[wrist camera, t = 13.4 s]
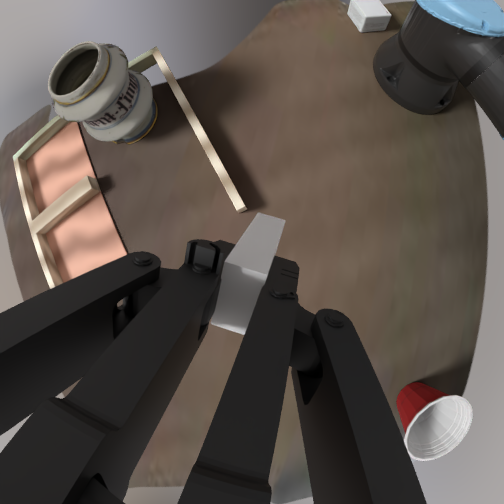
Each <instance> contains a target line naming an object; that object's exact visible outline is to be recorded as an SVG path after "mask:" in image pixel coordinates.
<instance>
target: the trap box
mask: <svg viewBox="0 0 504 504" xmlns="http://www.w3.org/2000/svg"><path fill="white" fill-rule="evenodd" d="M156 63H158V65H159V67H160V69H161V70H162V72H163V74H164V76H165V78H166V80H167V82H168V83H169V85H170V87H171V89H172V91H173V93H174V94H175V96H176V98H177V100H178V102H179V104H180V106H181V107H182V109H183V111H184V113H185V115H186V117H187V118H188V120H189V122H190V124H191V126H192V128H193V130H194V131H195V133H196V135H197V137H198V139H199V141H200V143H201V144H202V146H203V148H204V150H205V152H206V154H207V156H208V157H209V159H210V161H211V163H212V165H213V167H214V169H215V170H216V172H217V174H218V176H219V178H220V180H221V182H222V183H223V185H224V187H225V189H226V191H227V193H228V195H229V197H230V198H231V200H232V202H233V204H234V206H235V208H236V210H237V211H238V212H239V213H241V212H243V211H245V210H247V208H246V206H245V204H244V203H243V201H242V199H241V197H240V195H239V193H238V191H237V190H236V188H235V186H234V184H233V182H232V180H231V179H230V177H229V175H228V173H227V171H226V169H225V168H224V166H223V164H222V162H221V160H220V158H219V157H218V155H217V153H216V151H215V149H214V148H213V146H212V144H211V142H210V140H209V138H208V137H207V135H206V133H205V131H204V129H203V128H202V126H201V124H200V122H199V120H198V119H197V117H196V115H195V113H194V111H193V110H192V108H191V106H190V104H189V102H188V101H187V99H186V97H185V95H184V94H183V92H182V90H181V88H180V86H179V85H178V83H177V81H176V79H175V78H174V76H173V74H172V72H171V71H170V69H169V67H168V65H167V64H166V62H165V60H164V58H163V56H162V55H161V53H160V52H159V50H158V48H157V47H154V48H153V49H151V50H149V51H148V52H146V53H144V54H142V55H141V56H139V57H137V58H136V59H134V60H132V61H131V62H129V63H128V70H134V71H137V72H139V73H141V72H143V71H145V70H146V69H148V68H149V67H151V66H153V65H155V64H156ZM13 159H14V165H15V170H16V175H17V180H18V185H19V189H20V194H21V198H22V202H23V206H24V210H25V214H26V217H27V221H28V224H29V228H30V231H31V235H32V238H33V241H34V244H35V247H36V250H37V253H38V256H39V259H40V262H41V265H42V268H43V271H44V273H45V276H46V279H47V281H48V284H49V286H50V289H51V288H54V287H56V286H58V285H60V284H62V283H64V282H67V281H69V280H71V279H73V278H75V277H77V276H80V275H82V274H84V273H86V272H89V271H91V270H93V269H95V268H98V267H100V266H102V265H104V264H107V263H109V262H111V261H113V260H116V259H118V258H120V257H123V256H125V255H127V252H126V250H125V247H124V245H123V243H122V241H121V238H120V236H119V234H118V232H117V229H116V227H115V224H114V222H113V220H112V217H111V215H110V212H109V210H108V207H107V205H106V202H105V200H104V197H103V195H102V192H101V190H100V187H99V184H98V182H97V179H96V176H95V173H94V171H93V168H92V165H91V162H90V159H89V156H88V153H87V150H86V147H85V144H84V141H83V138H82V135H81V132H80V129H79V126H78V122H70V121H66V120H64V119H62V118H61V117H59V116H58V115H57V116H56V117H55V118H53V119H52V120H51V121H50V122H49V123H48V124H46V125H45V126H44V127H43V128H42V129H41V130H40V131H39V132H38V133H37V134H36V135H34V136H33V137H32V138H31V139H30V140H29V141H28V142H27V143H26V144H25V145H24V146H23V147H22V148H21V149H20V150H19V151H18V152H17V153H16V154H15V155H14V156H13Z"/></svg>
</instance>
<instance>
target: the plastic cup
mask: <svg viewBox="0 0 504 504" xmlns="http://www.w3.org/2000/svg"><path fill="white" fill-rule="evenodd" d="M396 402H397V408H398V411H399V414H400V418H401V421H402V424H403V427H404V431H405V438H404V443H405V446H406V448H407V451H408V453H409V455H410V456H411V457H412V458H413V459H417V460H421V461H426V460H432V459H436V458H439V457H441V456H443V455H445V454H447V453H448V452H450V451H451V450H452V449H453V448H455V447H456V446H457V445H458V444H459V443H460V442H461V441H462V439H463V438H464V436H465V435H466V433H467V432H468V430H469V427H470V425H471V422H472V407H471V405H470V403H469V402H468V400H467V399H465V398H462V397H460V396H457V395H448V394H445V393H443V392H441V391H439V390H437V389H435V388H432V387H430V386H427V385H425V384H423V383H419V382H415V383H411V384H409V385H406V386H405V387H404V388H403V389H402V390H401V392H400V393H399V395H398V397H397V401H396Z"/></svg>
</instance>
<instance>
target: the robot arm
mask: <svg viewBox="0 0 504 504" xmlns="http://www.w3.org/2000/svg"><path fill="white" fill-rule="evenodd" d="M498 58H499V59H498ZM497 59H498V60H497ZM489 66H490V67H489ZM488 67H489V68H488ZM373 68H374V73H375V76H376V78H377V80H378V82H379V84H380V86H381V87H382V88H383V90H384V91H385V92H386V93H387V94H388V95H389V96H390V97H391V98H392V99H393V100H394V101H395V102H397V103H398V104H399V105H401V106H403V107H404V108H406V109H408V110H410V111H413V112H416V113H420V114H435V113H438V112H440V111H441V110H443V109H444V108H445V107H446V106H447V105H448V104H449V103H450V102H451V100H452V98H453V96H454V93H455V90H456V87H457V84H458V81H460V82H461V83H462V84H463V86H464V87H465V88H466V89H467V90H468V92H469V93H470V94H471V95H472V97H473V98H474V99H475V100H476V102H477V103H478V104H479V105H480V107H481V108H482V109H483V110H484V112H485V113H486V115H487V116H488V117H489V119H490V120H491V122H492V123H493V125H494V126H495V127H496V129H497V130H498V132H499V134H500V136H501V137H502V139H503V140H504V13H503V10H502V9H501V8H500V7H499V5H497V3H496V2H495V1H494V0H415V2H414V4H413V6H412V8H411V10H410V12H409V14H408V16H407V18H406V20H405V22H404V24H403V25H402V28H401V29H400V31H399V32H398V33H397V34H395V35H394V36H392V37H391V38H389V39H388V40H386V41H385V42H384V43H382V44H381V46H380V47H379V48H378V50H377V52H376V54H375V57H374V60H373ZM487 68H488V69H487ZM486 69H487V70H486ZM479 75H480V76H479ZM478 76H479V77H478ZM477 77H478V78H477ZM476 78H477V79H476ZM284 224H285V220H282V219H279V218H276V217H272V216H269V215H266V214H262V213H259V212H258V214H257V215H256V216H255V218H254V219H253V221H252V222H251V224H250V225H249V227H248V228H247V229H246V231H245V232H244V234H243V235H242V237H241V238H240V240H239V241H238V242H237V244H236V245H235V244H232V243H228V242H225V241H222V240H219V241H216V242H212V241H208V240H199V239H197V240H191V241H189V242H188V243H187V249H186V255H185V261H184V264H183V265H182V266H181V267H180V268H179V269H178V270H176V269H167V268H160V266H161V261H160V259H159V258H158V257H157V256H156V255H154V254H151V253H149V252H144V251H141V252H133V253H130V254H127V255H125V256H123V257H120V258H118V259H116V260H113V261H111V262H109V263H107V264H104V265H102V266H100V267H98V268H95V269H93V270H91V271H89V272H86V273H84V274H82V275H80V276H77V277H75V278H73V279H71V280H69V281H67V282H64V283H62V284H60V285H58V286H56V287H54V288H51V289H49V290H47V291H45V292H43V293H41V294H39V295H37V296H35V297H33V298H30V299H28V300H26V301H24V302H22V303H20V304H18V305H16V306H14V307H12V308H10V309H8V310H6V311H4V312H2V313H0V435H2V434H3V433H5V432H6V431H8V430H9V429H11V428H12V427H14V426H15V425H16V424H18V423H19V422H21V421H22V420H23V419H25V418H26V417H28V416H29V415H30V414H32V413H33V414H32V415H31V416H30V417H29V418H28V420H27V421H26V422H25V423H24V424H23V426H22V427H21V428H20V429H19V431H18V432H17V433H16V434H15V435H14V437H13V438H12V439H11V440H10V442H9V443H8V444H7V445H6V447H5V448H4V449H3V450H2V452H1V453H0V504H125V503H124V502H123V499H124V497H125V495H126V492H127V489H128V485H129V480H130V477H131V475H132V473H133V471H134V469H135V467H136V465H137V463H138V461H139V459H140V458H141V456H142V454H143V452H144V450H145V448H146V446H147V444H148V442H149V440H150V439H151V437H152V435H153V433H154V431H155V429H156V427H157V425H158V423H159V422H160V420H161V418H162V416H163V414H164V412H165V410H166V408H167V406H168V404H169V403H170V401H171V399H172V397H173V395H174V393H175V391H176V389H177V387H178V386H179V384H180V382H181V380H182V378H183V376H184V374H185V372H186V370H187V369H188V367H189V365H190V363H191V361H192V359H193V357H194V355H195V353H196V352H197V350H198V348H199V346H200V344H201V342H202V340H203V338H204V336H205V335H206V333H207V330H208V325H209V321H210V319H211V317H212V321H211V324H213V325H216V326H219V327H222V328H225V329H228V330H231V331H234V332H237V333H240V334H243V335H244V338H243V340H242V343H241V346H240V349H239V351H238V354H237V357H236V359H235V362H234V365H233V367H232V370H231V373H230V375H229V378H228V381H227V383H226V386H225V389H224V391H223V394H222V397H221V399H220V402H219V404H218V407H217V410H216V412H215V415H214V418H213V420H212V423H211V425H210V428H209V430H208V433H207V436H206V438H205V441H204V443H203V446H202V448H201V451H200V453H199V456H198V458H197V461H196V463H195V464H194V466H193V468H192V470H191V472H190V475H189V477H188V479H187V482H186V484H185V487H184V489H183V492H182V494H181V496H180V499H179V501H178V504H270V501H271V494H272V492H271V486H270V485H269V484H268V479H269V473H270V468H271V463H272V458H273V453H274V448H275V443H276V438H277V432H278V427H279V422H280V416H281V411H282V405H283V399H284V393H285V387H286V381H287V375H288V369H289V366H291V367H292V371H291V374H292V379H293V385H294V390H295V396H296V401H297V407H298V413H299V418H300V424H301V430H302V436H303V441H304V447H305V453H306V459H307V465H308V471H309V477H310V483H311V489H312V495H313V501H314V504H426V500H425V497H424V495H423V492H422V489H421V486H420V483H419V480H418V478H417V475H416V472H415V469H414V467H413V464H412V461H411V459H410V456H409V453H408V451H407V448H406V446H405V443H404V441H403V438H402V435H401V433H400V430H399V428H398V425H397V423H396V421H395V418H394V416H393V413H392V411H391V408H390V406H389V404H388V401H387V399H386V397H385V394H384V392H383V390H382V387H381V385H380V383H379V380H378V378H377V376H376V374H375V371H374V369H373V367H372V365H371V362H370V360H369V358H368V356H367V354H366V351H365V349H364V347H363V345H362V343H361V341H360V338H359V336H358V334H357V332H356V330H355V328H354V326H353V324H352V322H351V321H350V319H349V318H348V317H347V316H345V315H344V314H343V313H341V312H339V311H337V310H332V309H321V310H319V311H318V312H317V313H316V315H315V314H313V313H311V312H309V311H307V310H305V309H304V308H303V307H301V306H300V304H299V303H298V295H297V294H296V291H297V284H298V276H299V267H298V265H297V263H296V262H294V261H291V260H287V259H284V258H281V257H277V256H275V254H276V251H277V248H278V244H279V241H280V237H281V234H282V231H283V227H284ZM122 299H123V305H121V306H120V307H117V303H118V302H119V301H120V300H122ZM212 315H213V316H212ZM82 377H83V378H82ZM81 378H82V379H81ZM79 379H81V380H80V381H79V382H78V384H77V385H76V386H75V387H74V388H73V390H72V391H71V392H70V393H69V394H68V395H67V396H66V397H65V398H63V399H60V398H56V396H57V395H58V394H60V393H61V392H62V391H64V390H65V389H67V388H68V387H69V386H71V385H72V384H74V383H75V382H76V381H78V380H79Z"/></svg>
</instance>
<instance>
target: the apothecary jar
mask: <svg viewBox="0 0 504 504" xmlns="http://www.w3.org/2000/svg"><path fill="white" fill-rule="evenodd" d="M48 90H49V93H50V94H51V96H52V104H53V108H54V110H55V112H56V113H57V115H58V116H59V117H61V118H62V119H64V120H66V121H70V122H81V121H83V125H84V127H85V129H86V131H87V132H88V133H89V134H90V135H91V136H92V137H94V138H95V139H97V140H101V141H113V142H114V143H116V144H119V143H122V142H125V143H126V144H132V143H134V142H137V141H139V140H140V139H142V138H143V137H144V136H145V135H146V134H147V133H148V132H149V131H150V130H151V129H152V127H153V125H154V123H155V121H156V118H157V104H156V102H155V100H154V98H153V94H152V88H151V84H150V82H149V81H148V79H147V78H146V77H145V76H143V75H142V74H141V73H139V72H137V71H134V70H128V60H127V57H126V55H125V54H124V52H123V51H122V50H121V49H120V48H119V47H117V46H115V45H112V44H105V43H104V44H97V43H94V42H89V41H88V42H82V43H80V44H77V45H75V46H74V47H72V48H70V49H69V50H68V51H67V52H66V53H64V54H63V55H62V57H61V58H60V59H59V60H58V61H57V63H56V64H55V66H54V67H53V69H52V71H51V73H50V76H49V80H48Z"/></svg>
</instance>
